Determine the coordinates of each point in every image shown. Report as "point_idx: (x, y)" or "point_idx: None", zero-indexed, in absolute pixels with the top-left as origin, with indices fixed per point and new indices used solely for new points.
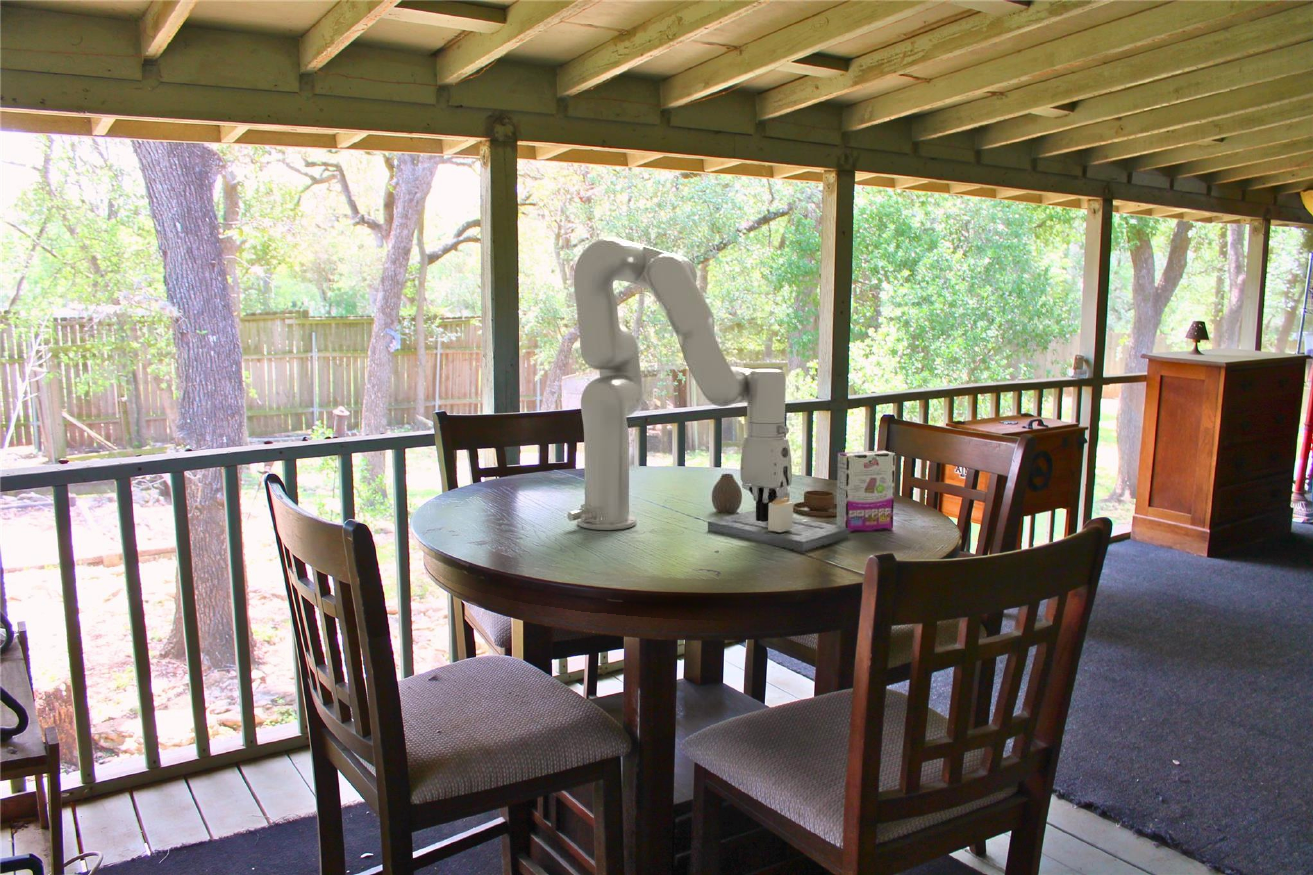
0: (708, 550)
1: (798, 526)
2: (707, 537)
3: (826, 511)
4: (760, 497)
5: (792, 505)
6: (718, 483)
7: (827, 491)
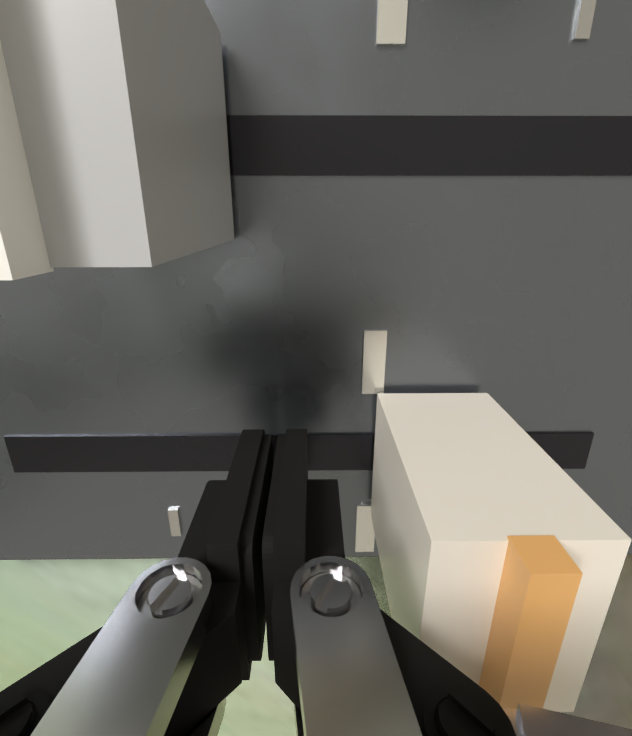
0: (276, 719)
1: (459, 250)
2: (102, 602)
3: None
4: (225, 691)
5: (603, 520)
6: None
7: None
